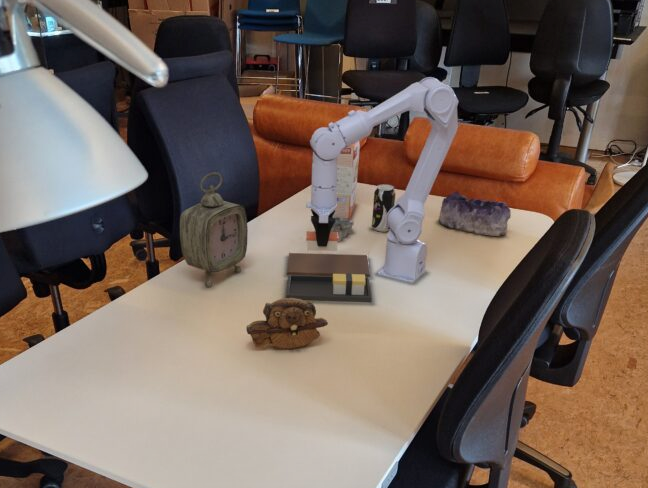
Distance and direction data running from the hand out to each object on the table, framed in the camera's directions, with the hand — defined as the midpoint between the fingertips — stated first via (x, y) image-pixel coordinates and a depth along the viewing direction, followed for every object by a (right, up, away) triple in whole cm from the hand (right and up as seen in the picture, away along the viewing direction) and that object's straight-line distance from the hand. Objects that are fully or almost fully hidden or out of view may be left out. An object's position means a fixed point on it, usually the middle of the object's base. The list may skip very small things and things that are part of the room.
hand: (322, 242), depth 170 cm
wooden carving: (-8, -27, -24) cm, 36 cm away
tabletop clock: (-26, -8, +4) cm, 27 cm away
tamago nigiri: (+6, -12, -2) cm, 14 cm away
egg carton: (+5, +8, +29) cm, 30 cm away
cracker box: (+9, +19, +45) cm, 49 cm away
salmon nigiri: (0, -1, +1) cm, 1 cm away
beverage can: (+18, +11, +33) cm, 39 cm away
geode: (+44, +11, +34) cm, 57 cm away
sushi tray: (+1, -12, -2) cm, 12 cm away
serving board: (+2, -4, +10) cm, 11 cm away
